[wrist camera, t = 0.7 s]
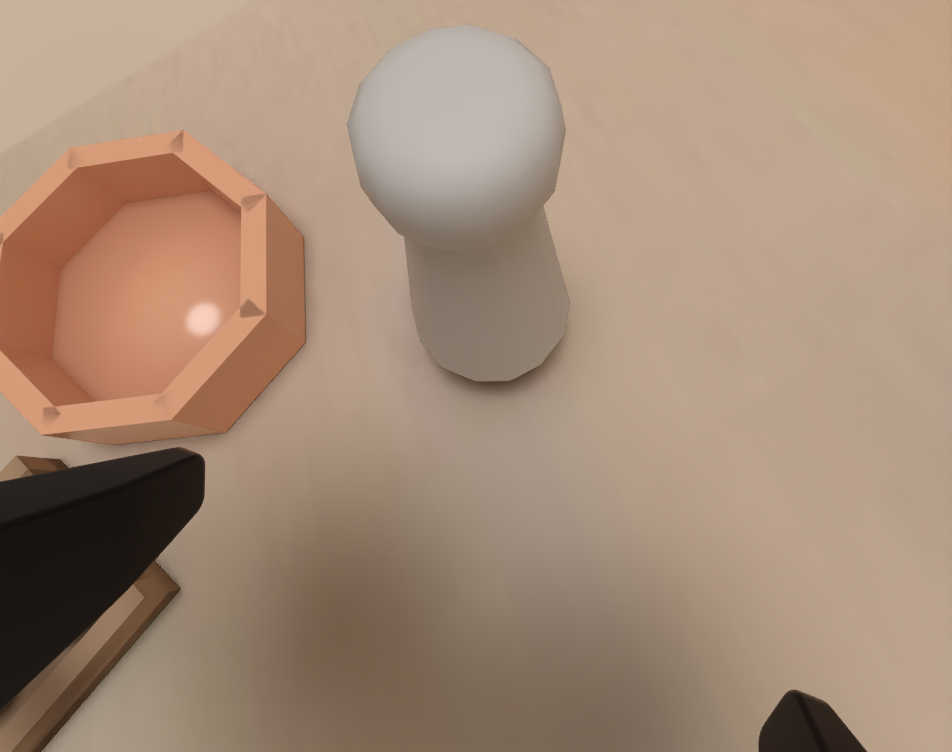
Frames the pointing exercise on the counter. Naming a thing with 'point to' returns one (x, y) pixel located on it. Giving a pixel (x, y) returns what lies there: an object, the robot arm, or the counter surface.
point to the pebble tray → (78, 648)
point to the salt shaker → (469, 193)
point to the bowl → (145, 293)
